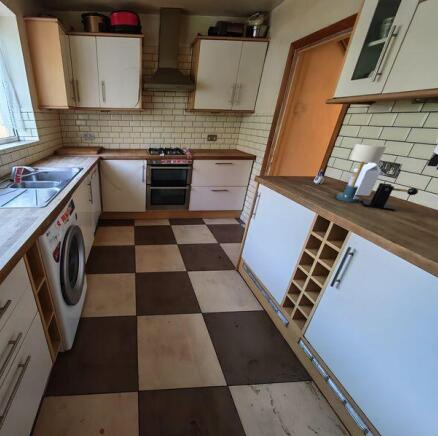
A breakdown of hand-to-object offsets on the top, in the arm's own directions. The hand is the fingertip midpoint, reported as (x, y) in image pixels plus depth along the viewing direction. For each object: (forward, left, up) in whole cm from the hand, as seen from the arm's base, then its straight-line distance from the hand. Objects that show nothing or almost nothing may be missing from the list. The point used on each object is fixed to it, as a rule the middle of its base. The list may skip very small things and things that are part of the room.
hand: (436, 168), depth 105 cm
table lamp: (+23, +11, -22) cm, 34 cm away
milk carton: (+26, -7, -22) cm, 35 cm away
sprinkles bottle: (+33, -12, -22) cm, 42 cm away
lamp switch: (+7, +5, -14) cm, 16 cm away
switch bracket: (+11, +8, -22) cm, 26 cm away
